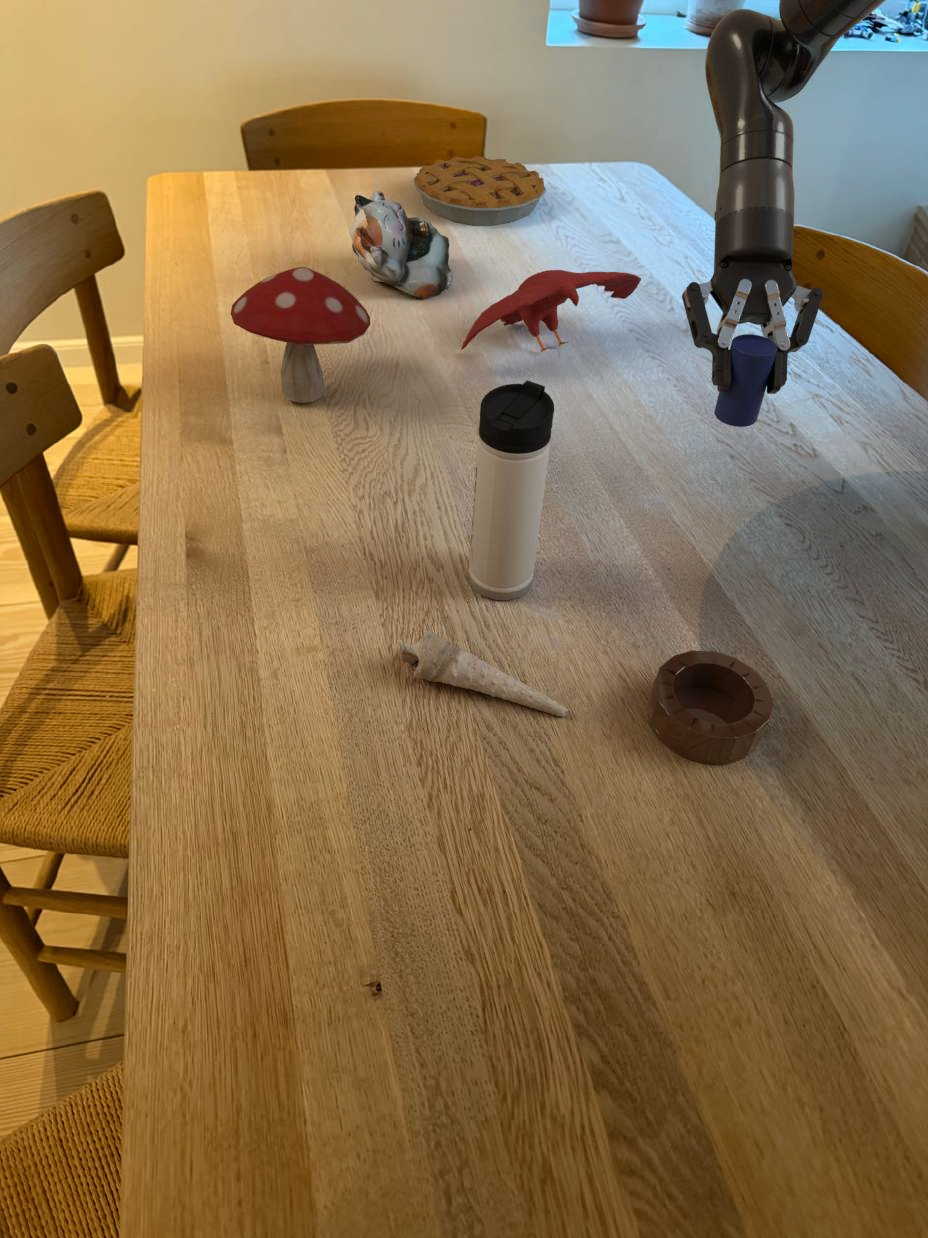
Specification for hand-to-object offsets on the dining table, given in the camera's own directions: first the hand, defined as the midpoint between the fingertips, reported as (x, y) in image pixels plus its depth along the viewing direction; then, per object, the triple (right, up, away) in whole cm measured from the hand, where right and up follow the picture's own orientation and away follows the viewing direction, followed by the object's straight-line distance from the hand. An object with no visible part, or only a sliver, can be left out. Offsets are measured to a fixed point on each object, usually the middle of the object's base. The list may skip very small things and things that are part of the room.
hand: (749, 389), depth 95 cm
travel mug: (-25, -19, -2) cm, 31 cm away
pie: (-26, +48, +67) cm, 87 cm away
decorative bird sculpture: (-18, +14, +33) cm, 40 cm away
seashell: (-27, -29, -12) cm, 41 cm away
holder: (-8, -31, -14) cm, 35 cm away
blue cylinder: (0, -2, +4) cm, 5 cm away
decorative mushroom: (-47, +5, +22) cm, 52 cm away
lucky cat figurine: (-37, +26, +44) cm, 63 cm away
